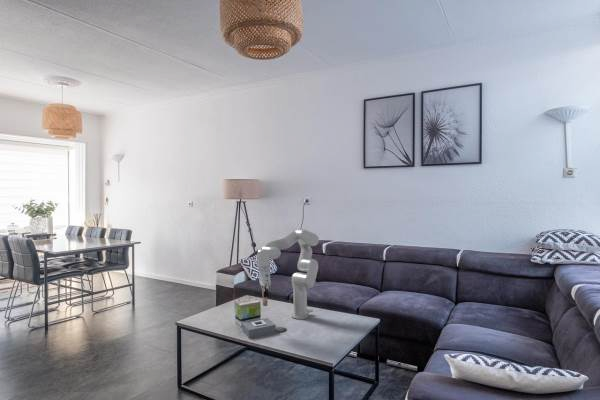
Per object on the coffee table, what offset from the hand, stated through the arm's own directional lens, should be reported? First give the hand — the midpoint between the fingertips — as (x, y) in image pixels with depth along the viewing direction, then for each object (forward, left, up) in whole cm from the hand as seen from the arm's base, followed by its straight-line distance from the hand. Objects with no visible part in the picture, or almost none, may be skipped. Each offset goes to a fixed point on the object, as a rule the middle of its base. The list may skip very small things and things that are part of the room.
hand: (265, 296), depth 231 cm
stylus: (0, 0, -6) cm, 6 cm away
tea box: (+5, -20, -23) cm, 31 cm away
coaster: (-9, +4, -23) cm, 25 cm away
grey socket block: (+4, -1, -23) cm, 23 cm away
